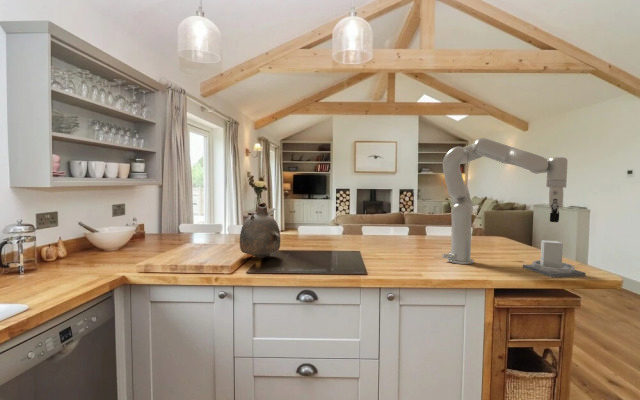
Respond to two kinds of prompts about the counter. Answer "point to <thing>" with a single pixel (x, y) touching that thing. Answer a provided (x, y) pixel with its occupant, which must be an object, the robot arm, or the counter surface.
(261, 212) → the jug
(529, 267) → the charcoal board
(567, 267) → the steel ring
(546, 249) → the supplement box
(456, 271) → the counter surface
